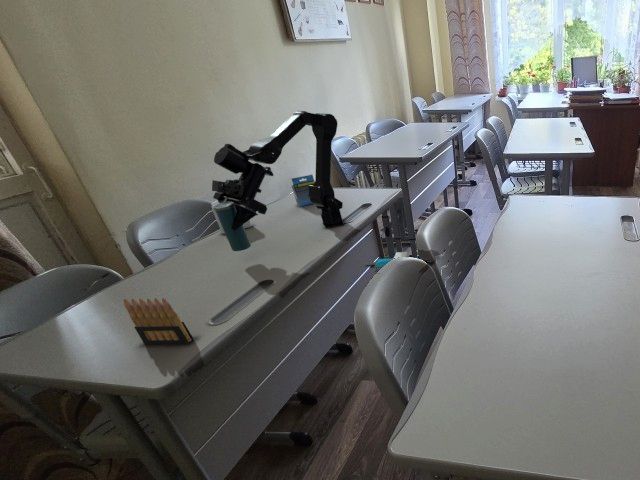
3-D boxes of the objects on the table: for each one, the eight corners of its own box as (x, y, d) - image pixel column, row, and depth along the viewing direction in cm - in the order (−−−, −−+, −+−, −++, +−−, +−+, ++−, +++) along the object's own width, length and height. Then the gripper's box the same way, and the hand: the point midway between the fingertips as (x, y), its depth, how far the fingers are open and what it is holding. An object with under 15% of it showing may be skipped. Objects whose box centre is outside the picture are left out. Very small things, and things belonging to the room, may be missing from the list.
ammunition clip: (194, 339, 92) (170, 295, 86) (188, 344, 91) (163, 300, 85) (150, 339, 93) (123, 296, 87) (144, 344, 91) (116, 301, 85)
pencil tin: (252, 242, 127) (235, 200, 120) (250, 249, 123) (233, 205, 116) (232, 246, 125) (214, 203, 118) (230, 253, 121) (211, 209, 114)
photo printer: (250, 224, 156) (238, 193, 149) (253, 226, 153) (241, 195, 147) (220, 232, 150) (207, 200, 143) (223, 235, 147) (209, 203, 141)
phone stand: (433, 252, 126) (433, 247, 125) (428, 270, 116) (428, 265, 115) (370, 255, 126) (369, 251, 125) (360, 274, 116) (359, 269, 115)
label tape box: (317, 200, 178) (309, 172, 172) (320, 202, 175) (312, 174, 169) (297, 205, 173) (288, 176, 167) (300, 207, 171) (291, 178, 164)
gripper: (206, 164, 119) (183, 212, 117) (242, 170, 111) (217, 221, 108) (242, 183, 129) (221, 227, 127) (277, 190, 120) (255, 237, 118)
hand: (228, 228), depth 120 cm, fingers closed on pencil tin, 5 cm apart
